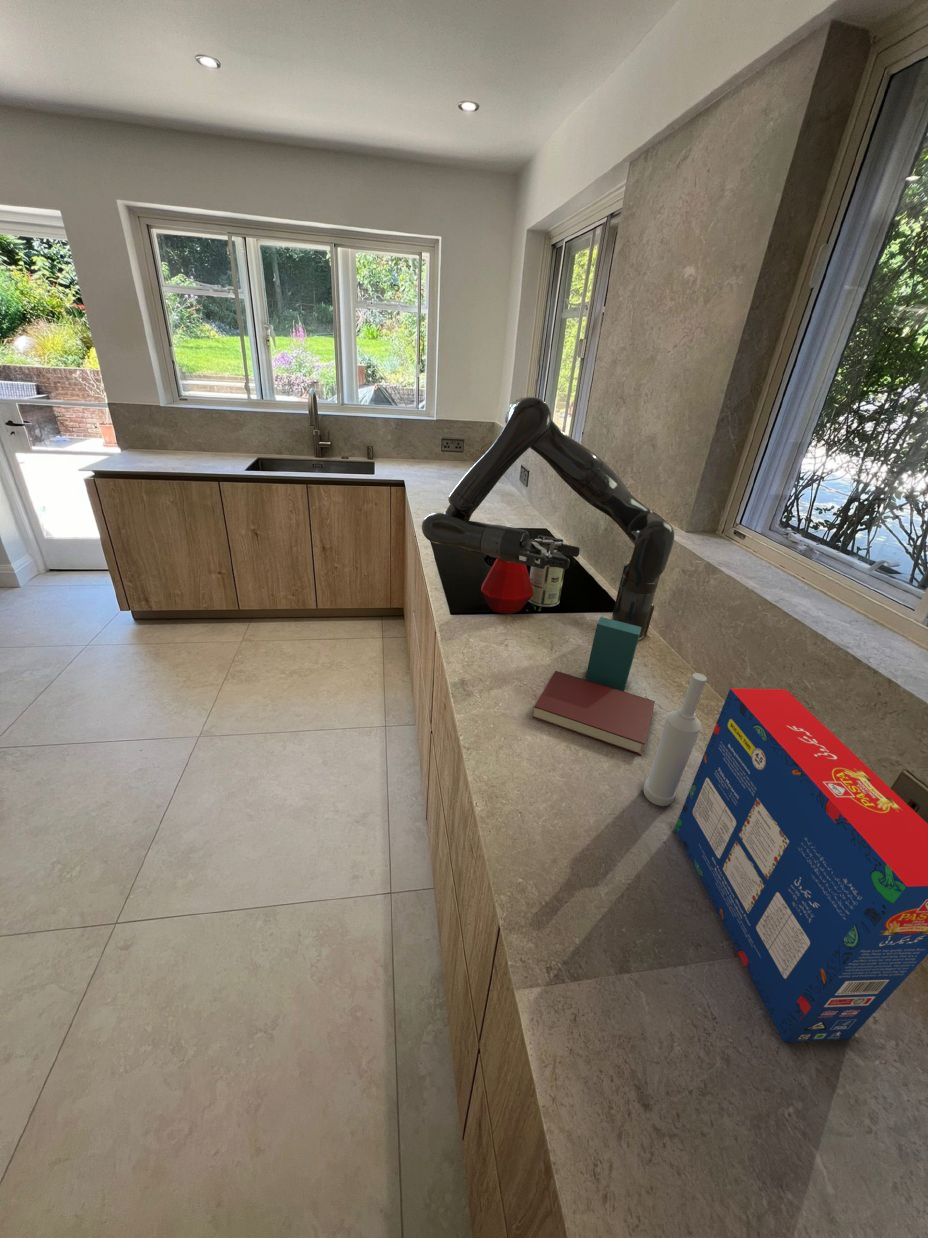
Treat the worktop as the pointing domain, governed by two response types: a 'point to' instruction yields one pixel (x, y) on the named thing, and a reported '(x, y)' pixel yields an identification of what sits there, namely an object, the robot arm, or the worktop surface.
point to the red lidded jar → (507, 587)
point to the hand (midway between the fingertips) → (574, 558)
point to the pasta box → (806, 865)
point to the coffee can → (546, 585)
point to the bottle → (675, 746)
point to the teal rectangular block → (612, 653)
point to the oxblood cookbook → (595, 711)
